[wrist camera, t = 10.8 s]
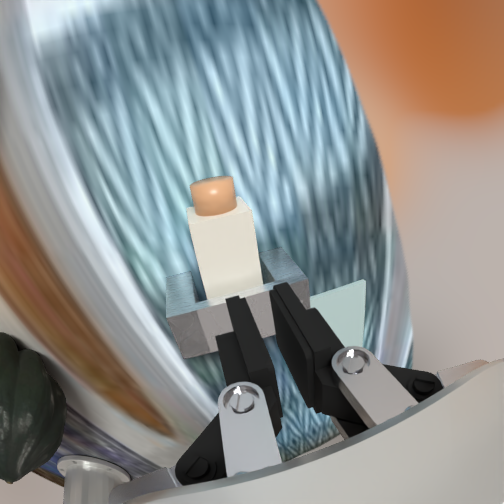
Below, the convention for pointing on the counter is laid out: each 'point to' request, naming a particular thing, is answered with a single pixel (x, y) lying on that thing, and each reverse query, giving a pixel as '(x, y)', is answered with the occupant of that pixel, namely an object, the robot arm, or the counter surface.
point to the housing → (215, 310)
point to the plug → (223, 237)
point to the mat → (344, 311)
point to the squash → (27, 411)
